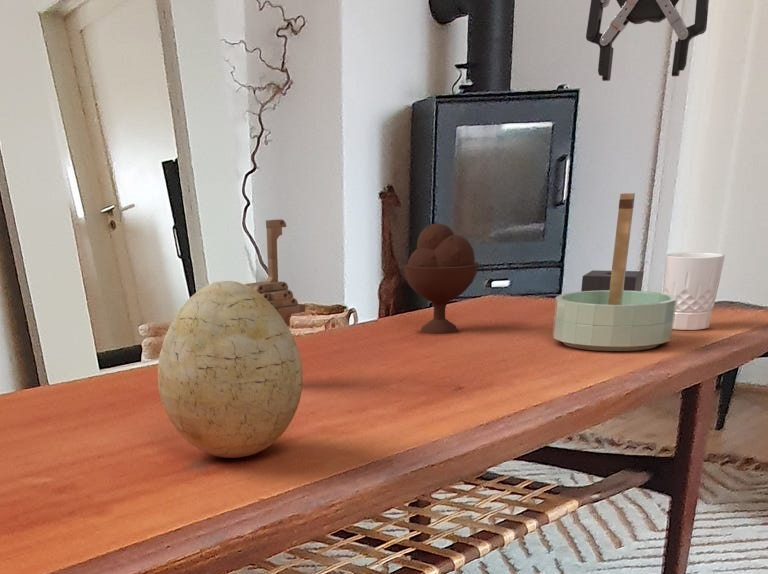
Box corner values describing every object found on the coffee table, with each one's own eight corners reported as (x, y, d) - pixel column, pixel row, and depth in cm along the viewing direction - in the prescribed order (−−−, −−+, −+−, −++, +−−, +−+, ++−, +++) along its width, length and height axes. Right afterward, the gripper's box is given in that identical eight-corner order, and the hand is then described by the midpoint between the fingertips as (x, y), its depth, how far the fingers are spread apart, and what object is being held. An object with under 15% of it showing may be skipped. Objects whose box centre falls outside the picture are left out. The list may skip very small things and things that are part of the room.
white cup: (670, 321, 149) (679, 251, 144) (721, 325, 144) (733, 253, 139) (647, 328, 144) (656, 256, 139) (700, 332, 139) (711, 258, 134)
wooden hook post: (271, 376, 120) (266, 218, 112) (308, 383, 115) (305, 219, 107) (159, 399, 110) (145, 227, 102) (195, 408, 105) (183, 229, 97)
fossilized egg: (241, 430, 96) (233, 269, 90) (333, 453, 88) (331, 278, 81) (136, 456, 89) (119, 283, 82) (225, 484, 80) (214, 294, 74)
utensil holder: (638, 309, 161) (643, 271, 158) (631, 316, 154) (636, 276, 151) (588, 308, 164) (592, 270, 161) (578, 314, 157) (582, 275, 155)
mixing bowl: (676, 336, 137) (683, 291, 134) (662, 355, 124) (669, 307, 122) (564, 331, 143) (569, 289, 140) (540, 349, 131) (544, 303, 128)
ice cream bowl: (397, 335, 144) (399, 226, 137) (411, 324, 154) (413, 221, 147) (468, 337, 141) (474, 225, 134) (478, 325, 151) (484, 220, 144)
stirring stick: (618, 336, 134) (635, 193, 126) (616, 338, 132) (633, 193, 124) (605, 335, 134) (622, 193, 126) (603, 337, 133) (620, 193, 125)
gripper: (723, -78, 118) (701, 76, 125) (602, -63, 123) (588, 83, 130) (718, -90, 112) (696, 73, 119) (591, -74, 117) (577, 80, 124)
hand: (640, 78), depth 125 cm, fingers open, 8 cm apart
